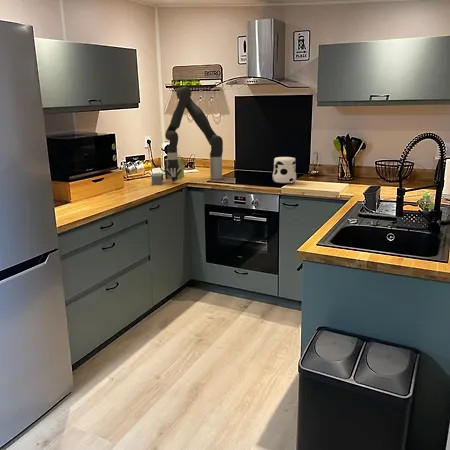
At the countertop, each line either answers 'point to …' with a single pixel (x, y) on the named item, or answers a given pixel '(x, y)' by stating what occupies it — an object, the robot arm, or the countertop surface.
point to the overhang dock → (157, 178)
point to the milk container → (284, 170)
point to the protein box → (181, 166)
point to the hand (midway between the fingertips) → (173, 181)
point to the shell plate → (167, 181)
